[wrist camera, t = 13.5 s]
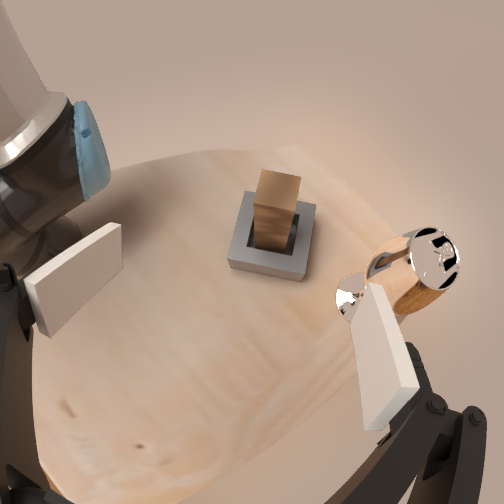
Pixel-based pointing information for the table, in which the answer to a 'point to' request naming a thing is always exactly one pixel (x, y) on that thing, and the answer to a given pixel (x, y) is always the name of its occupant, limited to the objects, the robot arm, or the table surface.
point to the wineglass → (404, 272)
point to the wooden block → (274, 210)
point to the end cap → (269, 262)
